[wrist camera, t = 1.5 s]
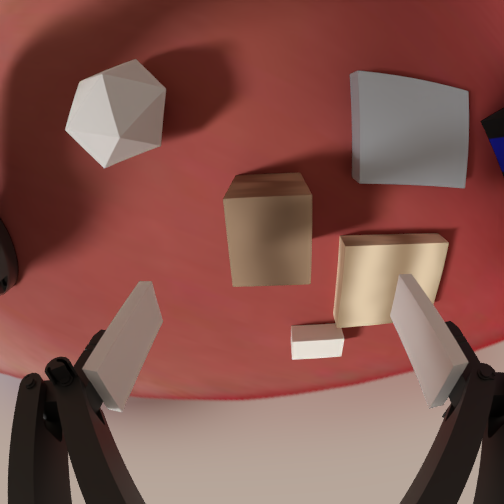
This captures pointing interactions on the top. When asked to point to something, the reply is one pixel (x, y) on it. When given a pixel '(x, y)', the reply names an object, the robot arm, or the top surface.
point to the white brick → (316, 341)
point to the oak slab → (383, 273)
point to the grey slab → (408, 131)
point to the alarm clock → (496, 134)
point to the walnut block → (269, 229)
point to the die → (118, 113)
